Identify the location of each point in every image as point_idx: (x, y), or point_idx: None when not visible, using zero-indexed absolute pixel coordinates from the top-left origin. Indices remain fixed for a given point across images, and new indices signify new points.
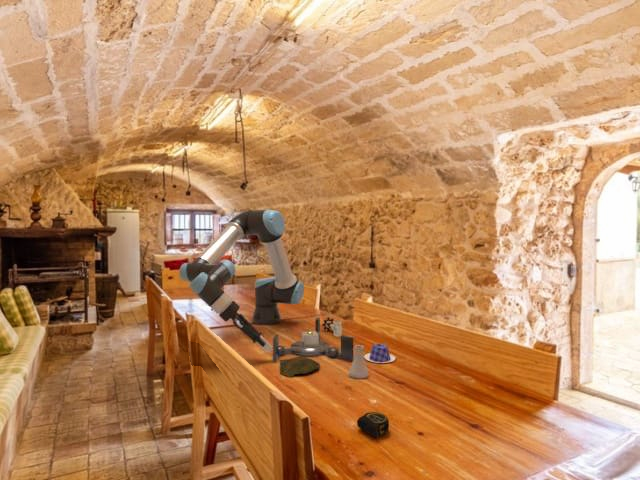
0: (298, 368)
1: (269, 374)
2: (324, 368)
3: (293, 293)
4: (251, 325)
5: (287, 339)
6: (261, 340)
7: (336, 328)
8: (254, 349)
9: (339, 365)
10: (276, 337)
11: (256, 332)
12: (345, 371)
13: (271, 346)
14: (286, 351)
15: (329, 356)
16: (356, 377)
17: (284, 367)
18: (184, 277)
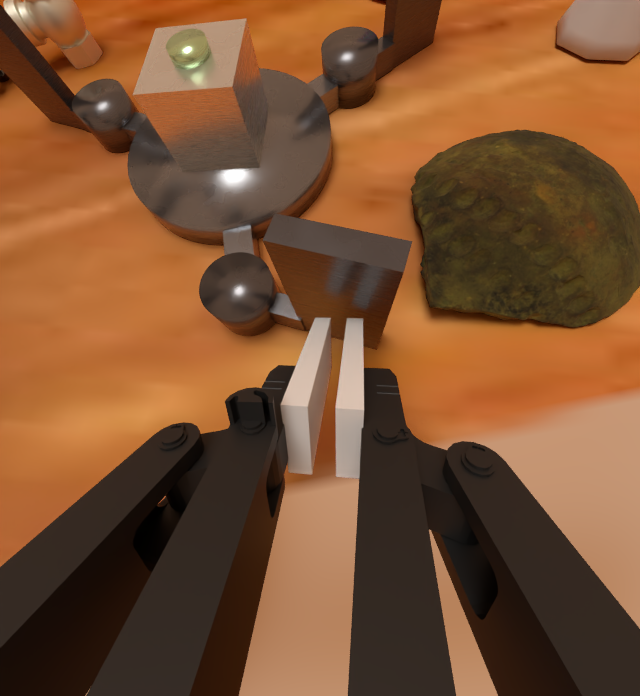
0: (633, 217)
1: (589, 391)
2: None
3: None
4: (10, 621)
5: (22, 243)
6: (401, 408)
7: (63, 8)
8: (101, 440)
9: (472, 81)
10: (363, 236)
11: (263, 473)
12: (551, 69)
13: (330, 325)
14: None
15: (363, 97)
16: None
17: (583, 291)
18: None
